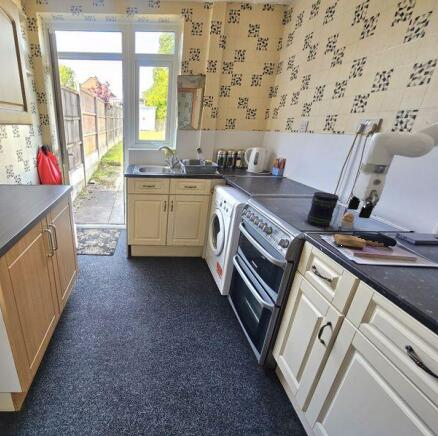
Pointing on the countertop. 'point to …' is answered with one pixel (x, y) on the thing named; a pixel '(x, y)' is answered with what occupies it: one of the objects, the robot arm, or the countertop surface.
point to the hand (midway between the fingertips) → (357, 213)
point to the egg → (347, 221)
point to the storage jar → (322, 209)
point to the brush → (353, 242)
